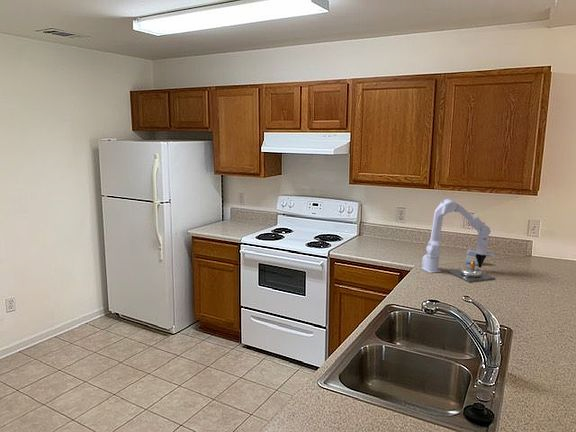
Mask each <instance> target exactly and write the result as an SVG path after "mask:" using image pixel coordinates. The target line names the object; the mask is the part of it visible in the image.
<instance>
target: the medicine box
mask: <svg viewBox="0 0 576 432" xmlns="http://www.w3.org/2000/svg"><path fill="white" fill-rule="evenodd" d="M468 250H469V249H467V251H466V259H465V264H466V265H470V266H471V261H474V262H475V266H478V261H477V259H476V254H468Z"/></svg>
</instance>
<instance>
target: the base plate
mask: <svg viewBox="0 0 576 432" xmlns="http://www.w3.org/2000/svg"><path fill="white" fill-rule="evenodd" d="M447 274H450V275H452V276H454V277H456V278H459V279H460V280H463V281H465V282H467V283H469V284H470V283H477V282H484V281H485V280H486V281H492V280H493V279H494V280H496V277H494V276H492V275H489V274H487V273H485V272H484V271H483V272H482V274H481V276H480V277H469V276H465V275H463V274H461V269H455V270H448V271H447Z"/></svg>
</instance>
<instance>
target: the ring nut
mask: <svg viewBox="0 0 576 432" xmlns="http://www.w3.org/2000/svg"><path fill="white" fill-rule="evenodd" d="M460 270H461V274H463V275H465V276H469V277H480V276H481V274H482V270H481V269H479V267H476V265H475V262H474V261H471V265H470V266H465V267H461V269H460Z"/></svg>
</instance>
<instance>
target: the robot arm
mask: <svg viewBox="0 0 576 432" xmlns="http://www.w3.org/2000/svg"><path fill="white" fill-rule="evenodd" d="M453 212H455V213H459V214H460V215H462V216H463V217H464V218H465V219H467V223H468V225H470V226H471V227H472V228H473V229H474V230H475V231H477V238H476V239H477V241H476V250H473V249H467V250H468V254H476V259H477V261H478V265H477V266H478V267H477V268H482V267H483V263H484V261H485V259H486V258H487V257H490V258H496V257H495V256H496V254H495V253H493V252H489V251H488V244H489V243H488V242H489V235H491V228H490V227H489V226H488V225H487V224H486V222H484V221H482V220H481V219H480V217H479V216H476V215H472V214H471V213H469V212H468V211H467V210H466V209H465V208H464V207H463V206H462V205H460V204H459V203H457V202H456V201H453V200H452V199H450V198H445V199H443V200H441V201H440V203H439V205H438V206H437V207H436V208H435V210H434V213H433V219H432V227H431V234H430V239H429V241H428V242H427V243H428V244H427V245H426V247H425V251H426V252H427V253H426V254H424V255H423V256H422V260H421V261H422V262H421V267H420V269H421V270H423V271H425V272H427V273H429V274H432V273H441V272H442V270H439V262H440V261H439V260H440V255H441V249H440V248H441V245H440V238H441V232H442V226H443V219H444V216H446V215H447V214H449V213H453Z"/></svg>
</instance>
